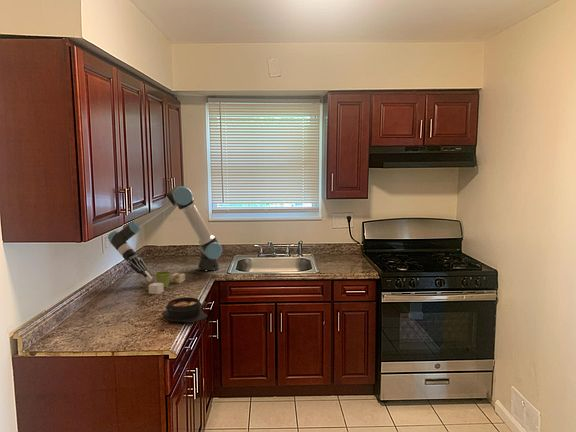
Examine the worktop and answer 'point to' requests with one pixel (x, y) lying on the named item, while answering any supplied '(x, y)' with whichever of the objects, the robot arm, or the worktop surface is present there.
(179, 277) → the birch block
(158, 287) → the grey block
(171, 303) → the casserole
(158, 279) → the plant pot
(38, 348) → the worktop surface
